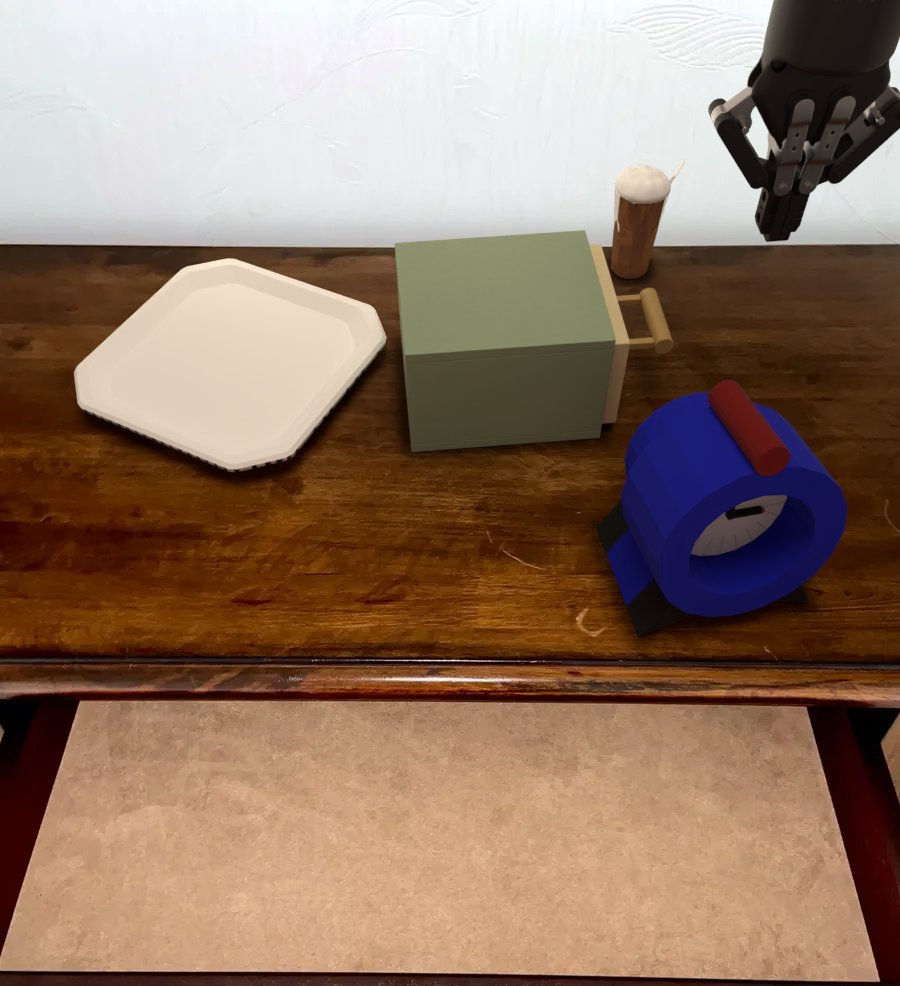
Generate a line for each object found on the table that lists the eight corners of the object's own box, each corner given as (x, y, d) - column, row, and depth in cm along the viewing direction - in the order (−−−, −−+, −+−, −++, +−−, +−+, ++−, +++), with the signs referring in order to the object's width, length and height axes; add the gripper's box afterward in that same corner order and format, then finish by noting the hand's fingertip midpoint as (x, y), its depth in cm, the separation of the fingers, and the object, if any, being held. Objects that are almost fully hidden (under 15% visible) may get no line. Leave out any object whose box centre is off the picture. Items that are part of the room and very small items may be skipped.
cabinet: (573, 330, 80) (585, 229, 72) (599, 438, 73) (616, 339, 65) (401, 342, 80) (394, 242, 72) (411, 452, 72) (404, 354, 65)
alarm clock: (641, 645, 62) (684, 496, 50) (587, 505, 69) (614, 344, 57) (814, 612, 64) (898, 459, 51) (745, 478, 71) (805, 315, 58)
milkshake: (668, 282, 84) (690, 176, 75) (608, 285, 83) (624, 180, 75) (657, 250, 86) (678, 145, 78) (599, 254, 86) (613, 148, 78)
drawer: (639, 321, 79) (655, 240, 73) (669, 419, 73) (689, 338, 66) (429, 336, 79) (426, 255, 72) (441, 436, 72) (438, 356, 66)
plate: (55, 412, 75) (45, 391, 74) (208, 267, 86) (203, 245, 84) (271, 502, 70) (266, 482, 68) (407, 336, 80) (406, 314, 78)
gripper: (753, -2, 50) (692, 274, 65) (997, -18, 51) (883, 260, 65) (719, -62, 55) (669, 210, 69) (944, -76, 55) (848, 197, 69)
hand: (773, 234), depth 67 cm, fingers closed
